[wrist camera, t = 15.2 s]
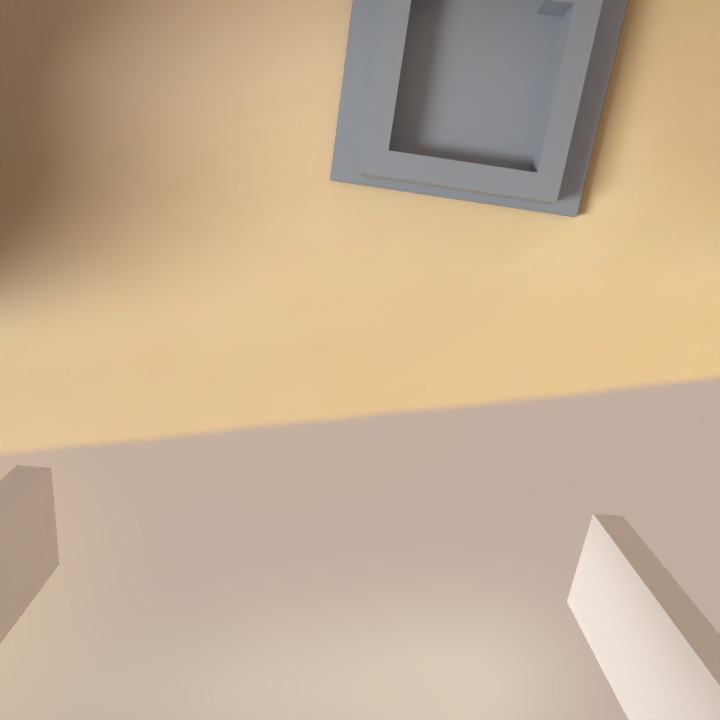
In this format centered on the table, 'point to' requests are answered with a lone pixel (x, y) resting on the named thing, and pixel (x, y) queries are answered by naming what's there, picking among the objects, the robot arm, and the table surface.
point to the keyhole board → (476, 98)
